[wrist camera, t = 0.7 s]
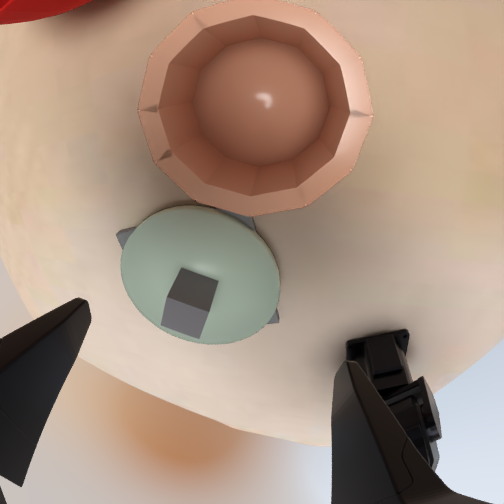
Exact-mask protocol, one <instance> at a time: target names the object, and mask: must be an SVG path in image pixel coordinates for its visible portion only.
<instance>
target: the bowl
mask: <svg viewBox="0 0 504 504" xmlns="http://www.w3.org/2000/svg"><path fill="white" fill-rule="evenodd" d="M315 13H316V11H314V10H311V9H307V8H304V7H301V6H297V5H294V4H290V3H286V2H283V1H279V0H230V1H227V2H223V3H219V4H216V5H213V6H209V7H206V8H203V9H200V10H197V11H194V12H193V14H192V13H190V14H189V15H188V16H187V17H186V18H185V19H184V20H183V21H182V22H181V23H180V24H179V25H178V26H177V27H176V28H175V29H174V30H173V31H172V32H171V33H170V34H169V35H168V36H167V37H166V38H165V40H164V41H163V42H162V43H161V44H160V45H159V46H158V47H157V48H156V49H155V50H154V52H153V53H152V54H151V56H153V57H151V56H150V57H149V61H148V65H147V69H146V73H145V77H144V82H143V86H142V91H141V95H140V100H139V105H138V110H140V111H138V114H139V118H140V121H141V124H142V127H143V130H144V134H145V137H146V140H147V143H148V146H149V149H150V152H151V155H152V158H153V161H154V162H156V163H155V164H156V165H157V166H158V167H159V168H160V169H161V170H162V171H163V172H164V173H165V174H166V175H167V176H168V177H170V178H171V179H172V180H173V181H174V182H175V183H176V184H177V185H178V186H179V187H180V188H181V189H182V190H183V191H184V192H186V193H187V194H188V195H189V196H190V197H191V198H192V199H193V200H194V201H195V200H196V202H199V203H202V204H206V205H209V206H213V207H216V208H220V209H223V210H227V211H230V212H234V213H237V214H241V215H244V216H247V217H249V215H250V217H254V216H259V215H264V214H270V213H275V212H280V211H286V210H292V209H297V208H303V207H306V205H307V206H308V205H310V204H311V203H312V202H313V201H315V200H316V199H317V198H319V197H320V196H321V195H322V194H324V193H325V192H326V191H327V190H329V189H330V188H331V187H332V186H334V185H335V184H336V183H338V182H339V181H340V180H341V179H343V178H344V177H345V176H346V175H348V174H349V173H350V172H352V171H351V170H353V168H354V165H355V163H356V160H357V158H358V155H359V153H360V150H361V148H362V145H363V143H364V140H365V138H366V135H367V132H368V130H369V127H370V124H371V122H372V119H373V117H372V116H373V111H372V105H371V100H370V94H369V89H368V84H367V79H366V75H365V70H364V66H363V62H362V58H359V57H361V56H360V55H359V54H358V53H357V52H356V51H355V49H354V48H353V47H352V46H351V45H350V44H349V43H348V42H347V41H346V40H345V39H344V38H343V36H342V35H341V34H340V33H339V32H338V31H337V30H336V29H335V28H334V27H333V26H332V25H331V24H330V23H329V22H328V21H327V20H326V19H324V18H323V17H322V16H321V15H320V14H319V13H318V12H317V13H316V14H315ZM350 169H351V170H350ZM305 204H306V205H305Z"/></svg>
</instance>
